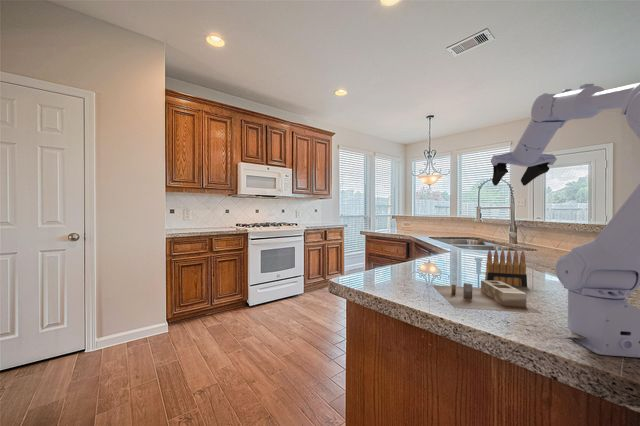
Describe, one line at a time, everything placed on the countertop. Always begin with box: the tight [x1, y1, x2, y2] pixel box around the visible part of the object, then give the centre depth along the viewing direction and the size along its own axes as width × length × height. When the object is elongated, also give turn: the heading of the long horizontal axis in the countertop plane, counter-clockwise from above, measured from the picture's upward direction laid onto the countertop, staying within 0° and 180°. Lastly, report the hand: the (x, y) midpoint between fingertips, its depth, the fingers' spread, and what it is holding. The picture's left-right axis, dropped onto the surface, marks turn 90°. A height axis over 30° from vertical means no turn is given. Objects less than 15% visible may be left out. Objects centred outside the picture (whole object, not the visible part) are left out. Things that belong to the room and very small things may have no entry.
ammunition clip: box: [484, 249, 528, 288], centre depth 79 cm, size 11×2×12 cm, turn 76°
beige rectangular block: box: [480, 279, 528, 306], centre depth 66 cm, size 11×5×3 cm, turn 172°
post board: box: [432, 282, 542, 314], centre depth 67 cm, size 18×18×5 cm
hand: (508, 183), depth 75 cm, fingers open, 7 cm apart
